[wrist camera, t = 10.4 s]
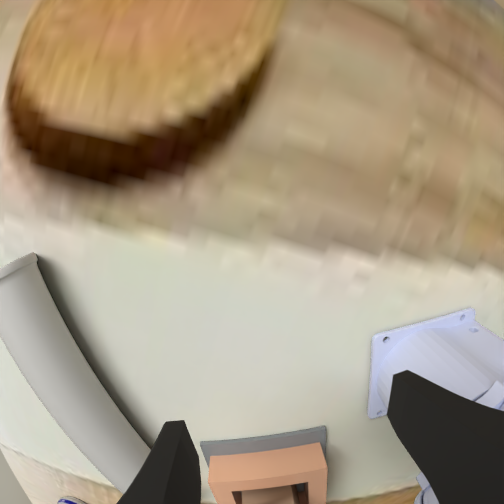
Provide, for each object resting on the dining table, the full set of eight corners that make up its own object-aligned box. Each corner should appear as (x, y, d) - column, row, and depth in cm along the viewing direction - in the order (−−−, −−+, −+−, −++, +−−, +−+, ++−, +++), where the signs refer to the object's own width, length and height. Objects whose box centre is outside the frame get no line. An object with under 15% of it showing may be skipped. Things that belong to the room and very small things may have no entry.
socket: (324, 425, 22) (334, 454, 19) (323, 497, 25) (329, 521, 21) (200, 441, 22) (196, 471, 19) (227, 510, 24) (227, 534, 21)
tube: (204, 516, 20) (19, 256, 14) (153, 533, 18) (-39, 291, 13) (191, 479, 25) (45, 248, 19) (147, 495, 23) (-7, 277, 18)
